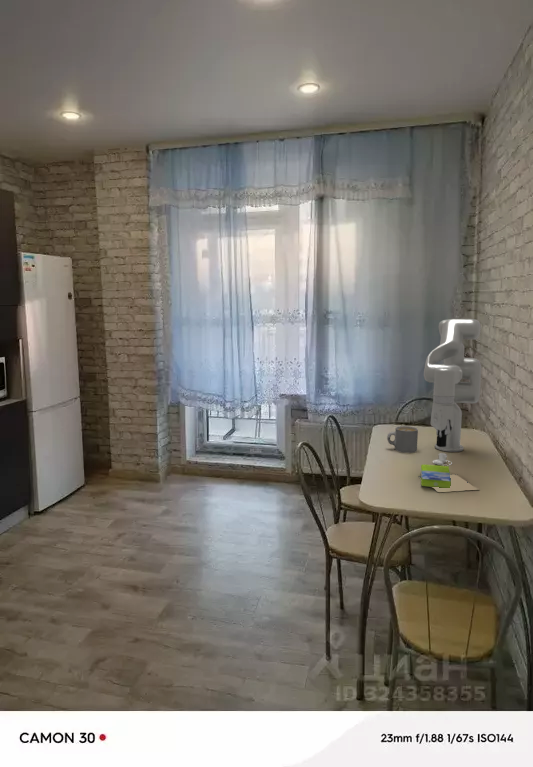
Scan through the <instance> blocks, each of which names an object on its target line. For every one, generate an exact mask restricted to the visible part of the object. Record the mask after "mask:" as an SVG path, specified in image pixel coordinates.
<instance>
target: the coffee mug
mask: <svg viewBox="0 0 533 767" xmlns="http://www.w3.org/2000/svg"><path fill="white" fill-rule="evenodd" d="M418 430H419V429H418V427H415V426H411V425H409V426H408V425H399V426H395V430H394V431H389V432H388V434H387V438H386V439H387V442H388V444H390V445H393V446H394V450H395V451H397V452H399V453H404V454H405V453H407V454H409V453H410V454H411V453H412V454H413V453H417V451H418V435H419V431H418ZM392 436H394V440H391V437H392Z"/></svg>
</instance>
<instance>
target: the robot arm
mask: <svg viewBox="0 0 533 767" xmlns="http://www.w3.org/2000/svg"><path fill="white" fill-rule="evenodd" d="M438 331H439V336H440V341H439V345H438V346H436V347H435V348H433V350H431V351H430V352H429V353H428V355H427V356H426V359H425V364H424V369H423V378H424V381H426V382H427V383H430V384H433V396H432V397H433V398H432V407H431V414H430V425H431V427H433V428H434V429H435V431H436V443H435V444H434V448H435V449H436V450H439V451H443V452H450V453H457V452H458V453H459V452H463V450H464V448H465V447H464V445H462V444H461V438H462V437H461V433H462V418H463V417H462V415H463V411H462V409H461V407H460V406H459V405H458V404H459V403H463V404H477V403H478V402H479V401H480V398H481V384H482V364H481V361H480V359H477V358H475V357H465V345H464V343H463V340H478V339H479V337H480V335H481V331H482V325H481V321H479V320H478V319H475V318H450V319H443V320H441V321H439V323H438ZM441 361H443V364H441V363H439V364H438V362H441ZM461 380H469V381H461Z"/></svg>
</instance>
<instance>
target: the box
mask: <svg viewBox="0 0 533 767" xmlns="http://www.w3.org/2000/svg"><path fill="white" fill-rule="evenodd" d="M450 475H451V473H450V465H447V466H444V465H437V464H421V465H420V476H421V479H420V485H421V486H422V487H429V488H431V487H439V488H450V486H451V478H450Z"/></svg>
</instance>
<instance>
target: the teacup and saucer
mask: <svg viewBox="0 0 533 767" xmlns="http://www.w3.org/2000/svg"><path fill="white" fill-rule="evenodd" d="M447 457H448V454H447V453H443V452H442V453H438V459H433V460H432V463H433V465H439V466H443V465H444V464H445V463H446V462H447V461H448V462H447V463H448V464H449V462H451V464H449V465H448V466H450V465H453V462H452V461H450V460H447Z"/></svg>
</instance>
